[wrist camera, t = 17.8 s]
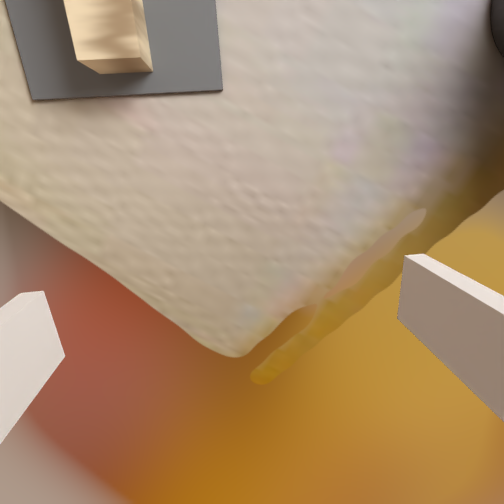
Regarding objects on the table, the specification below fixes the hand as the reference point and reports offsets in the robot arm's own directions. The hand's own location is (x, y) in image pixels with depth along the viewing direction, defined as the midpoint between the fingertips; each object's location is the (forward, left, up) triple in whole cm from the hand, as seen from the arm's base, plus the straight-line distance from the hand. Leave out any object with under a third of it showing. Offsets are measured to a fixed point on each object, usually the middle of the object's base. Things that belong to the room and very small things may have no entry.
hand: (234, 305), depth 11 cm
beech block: (+10, -14, -28) cm, 33 cm away
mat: (+10, -20, -32) cm, 39 cm away
